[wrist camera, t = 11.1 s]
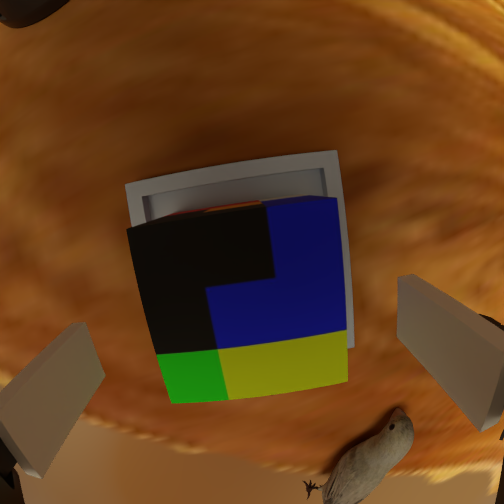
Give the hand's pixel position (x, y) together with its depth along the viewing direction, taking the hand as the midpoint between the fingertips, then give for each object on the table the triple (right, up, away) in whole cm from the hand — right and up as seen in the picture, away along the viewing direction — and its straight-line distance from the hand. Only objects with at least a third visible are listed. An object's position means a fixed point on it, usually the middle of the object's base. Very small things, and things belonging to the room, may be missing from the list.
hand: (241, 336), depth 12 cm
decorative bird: (+13, -20, +19) cm, 31 cm away
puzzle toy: (0, +2, +13) cm, 13 cm away
